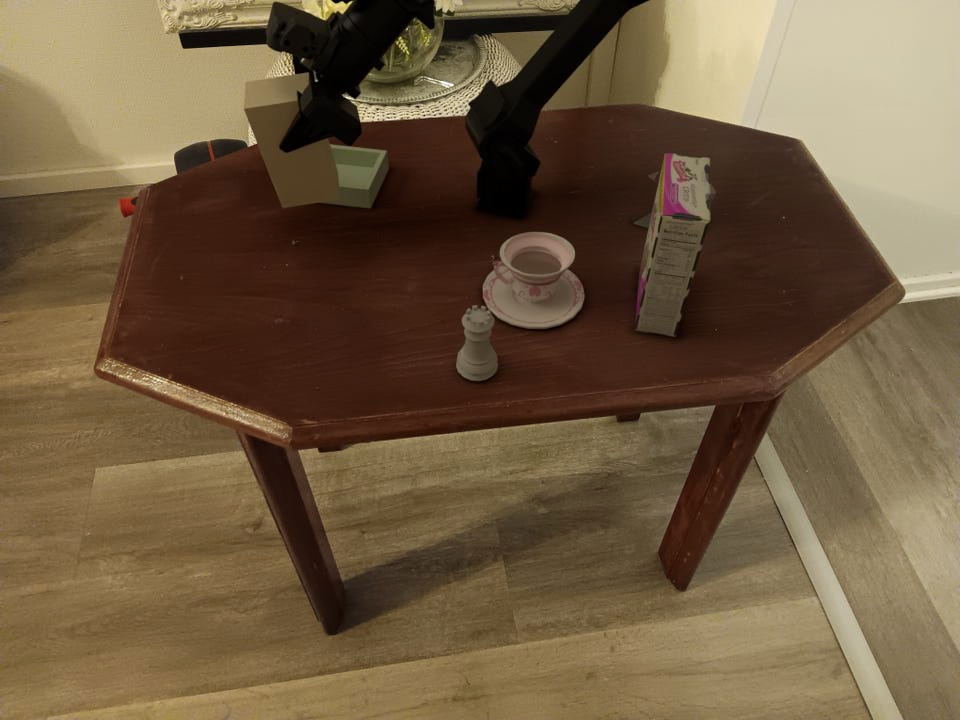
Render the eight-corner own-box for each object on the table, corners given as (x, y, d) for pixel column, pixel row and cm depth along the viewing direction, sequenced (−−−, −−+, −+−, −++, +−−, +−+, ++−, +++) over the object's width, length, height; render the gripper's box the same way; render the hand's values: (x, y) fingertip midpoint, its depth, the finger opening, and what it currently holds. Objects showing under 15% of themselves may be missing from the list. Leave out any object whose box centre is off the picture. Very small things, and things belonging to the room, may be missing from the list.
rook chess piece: (454, 353, 78) (454, 299, 72) (495, 351, 78) (498, 297, 72) (457, 384, 75) (457, 331, 69) (500, 382, 75) (503, 328, 69)
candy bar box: (636, 269, 88) (664, 150, 76) (678, 275, 87) (712, 156, 75) (631, 333, 81) (660, 212, 69) (676, 339, 80) (713, 219, 68)
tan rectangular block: (338, 172, 90) (308, 72, 79) (339, 199, 87) (309, 98, 76) (282, 181, 90) (245, 81, 79) (282, 208, 87) (243, 108, 76)
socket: (388, 169, 102) (387, 150, 100) (370, 208, 96) (368, 189, 93) (310, 160, 103) (306, 141, 101) (287, 199, 97) (283, 179, 95)
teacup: (569, 257, 89) (575, 216, 85) (596, 324, 81) (604, 283, 77) (474, 267, 88) (474, 226, 83) (492, 336, 80) (494, 295, 75)
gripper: (298, -57, 77) (218, 55, 83) (310, 15, 65) (215, 139, 71) (378, 13, 84) (299, 111, 90) (403, 89, 72) (309, 196, 78)
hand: (281, 136), depth 82 cm, fingers closed on tan rectangular block, 6 cm apart
